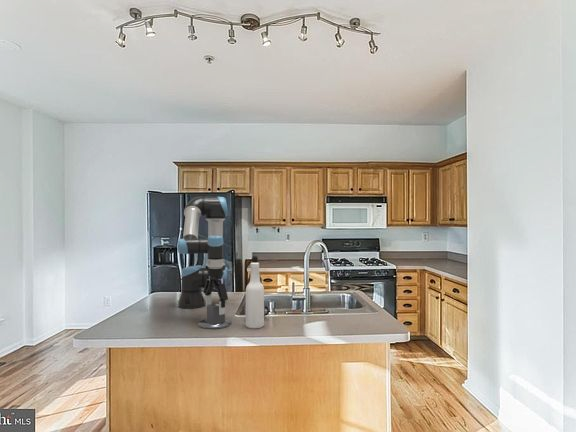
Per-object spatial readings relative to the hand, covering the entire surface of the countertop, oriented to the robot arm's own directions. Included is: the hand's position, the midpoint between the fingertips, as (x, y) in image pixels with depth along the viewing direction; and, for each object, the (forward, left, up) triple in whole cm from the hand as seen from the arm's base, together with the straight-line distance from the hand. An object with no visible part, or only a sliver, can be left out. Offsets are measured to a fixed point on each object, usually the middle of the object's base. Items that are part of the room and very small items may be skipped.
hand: (215, 311), depth 179 cm
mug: (+6, +21, -6) cm, 23 cm away
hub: (0, 0, -6) cm, 6 cm away
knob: (+1, 0, -5) cm, 5 cm away
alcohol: (+15, +13, -6) cm, 21 cm away
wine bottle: (-16, +34, -6) cm, 38 cm away
